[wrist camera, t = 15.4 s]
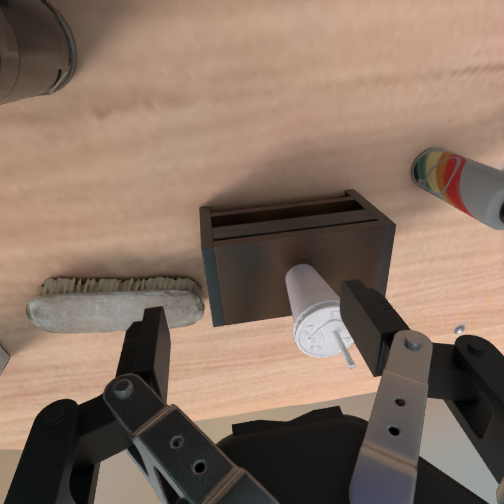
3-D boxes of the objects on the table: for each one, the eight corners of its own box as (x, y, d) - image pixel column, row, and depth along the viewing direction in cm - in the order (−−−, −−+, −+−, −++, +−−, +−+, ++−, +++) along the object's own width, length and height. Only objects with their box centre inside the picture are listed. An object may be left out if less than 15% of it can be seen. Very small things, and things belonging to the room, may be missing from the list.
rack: (209, 274, 53) (213, 327, 43) (199, 207, 48) (201, 249, 38) (348, 255, 56) (384, 301, 45) (354, 189, 50) (396, 224, 40)
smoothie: (332, 287, 43) (388, 378, 31) (283, 306, 43) (319, 404, 31) (319, 245, 40) (375, 328, 27) (266, 266, 40) (299, 358, 28)
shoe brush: (42, 318, 53) (28, 342, 48) (30, 276, 49) (14, 297, 45) (203, 311, 57) (204, 332, 52) (203, 271, 53) (204, 290, 49)
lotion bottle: (404, 164, 49) (517, 223, 32) (440, 138, 48) (578, 184, 31) (419, 194, 52) (532, 263, 35) (453, 170, 51) (588, 228, 34)
